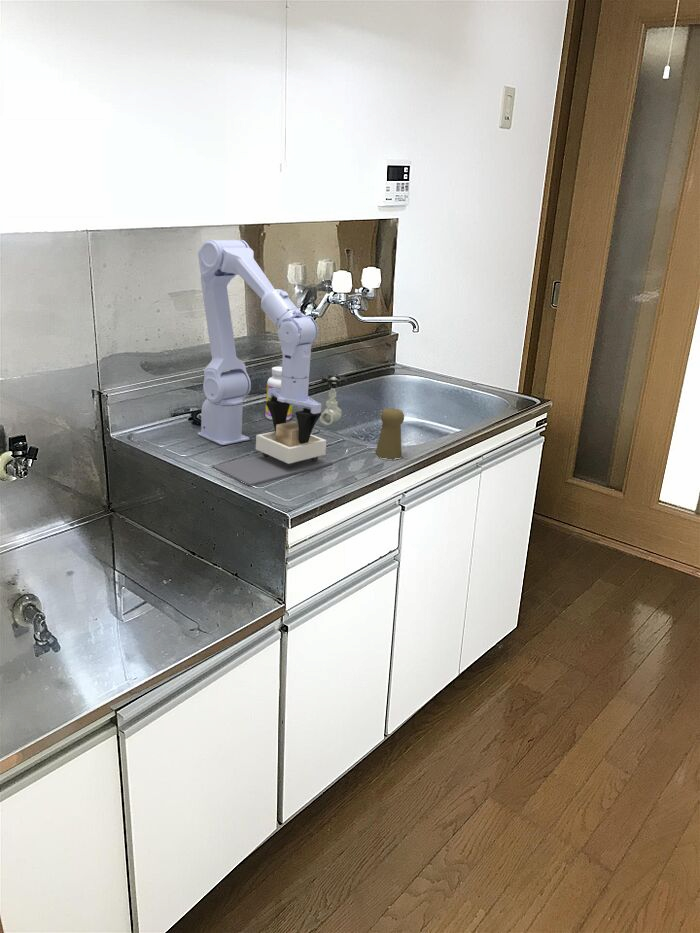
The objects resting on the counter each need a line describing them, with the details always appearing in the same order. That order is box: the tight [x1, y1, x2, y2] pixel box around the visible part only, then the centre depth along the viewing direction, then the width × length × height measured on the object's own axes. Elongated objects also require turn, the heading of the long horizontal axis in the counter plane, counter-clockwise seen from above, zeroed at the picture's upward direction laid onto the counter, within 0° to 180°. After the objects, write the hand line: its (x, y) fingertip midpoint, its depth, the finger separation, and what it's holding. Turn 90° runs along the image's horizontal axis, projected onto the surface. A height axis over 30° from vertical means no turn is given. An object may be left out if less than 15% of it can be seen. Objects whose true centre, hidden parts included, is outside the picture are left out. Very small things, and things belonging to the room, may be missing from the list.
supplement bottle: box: [265, 366, 293, 421], centre depth 196 cm, size 7×7×13 cm
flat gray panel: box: [212, 454, 333, 487], centre depth 165 cm, size 12×23×1 cm, turn 136°
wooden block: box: [275, 420, 309, 447], centre depth 166 cm, size 5×5×5 cm
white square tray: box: [255, 430, 328, 468], centre depth 167 cm, size 11×11×5 cm
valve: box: [319, 373, 347, 427], centre depth 195 cm, size 7×7×12 cm
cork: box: [375, 407, 405, 459], centre depth 176 cm, size 6×6×11 cm
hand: (291, 437), depth 166 cm, fingers open, 7 cm apart
